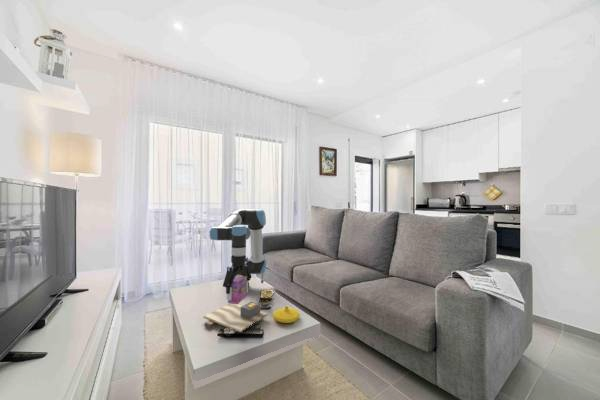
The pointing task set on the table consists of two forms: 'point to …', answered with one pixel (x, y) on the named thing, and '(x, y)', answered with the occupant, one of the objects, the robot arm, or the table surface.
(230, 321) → the beige cloth
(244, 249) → the robot arm
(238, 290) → the box
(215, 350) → the table surface
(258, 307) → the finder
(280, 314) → the yellow pattypan squash
